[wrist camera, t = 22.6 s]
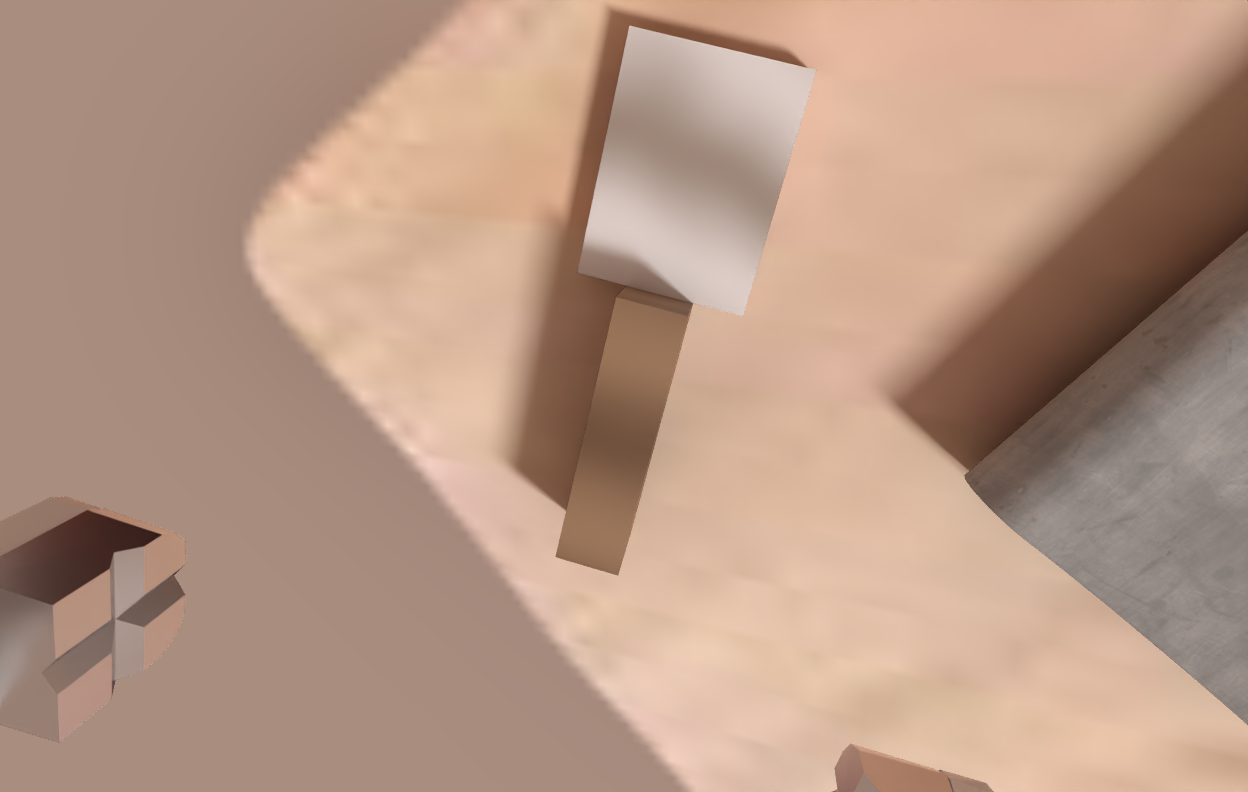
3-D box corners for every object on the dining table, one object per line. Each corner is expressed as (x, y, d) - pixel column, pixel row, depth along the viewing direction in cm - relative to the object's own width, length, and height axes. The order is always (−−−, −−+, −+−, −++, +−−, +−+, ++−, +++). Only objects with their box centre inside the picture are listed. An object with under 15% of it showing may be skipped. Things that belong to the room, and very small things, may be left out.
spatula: (673, 545, 29) (665, 589, 26) (532, 504, 30) (509, 543, 27) (813, 73, 23) (824, 60, 20) (633, 30, 23) (618, 12, 20)
